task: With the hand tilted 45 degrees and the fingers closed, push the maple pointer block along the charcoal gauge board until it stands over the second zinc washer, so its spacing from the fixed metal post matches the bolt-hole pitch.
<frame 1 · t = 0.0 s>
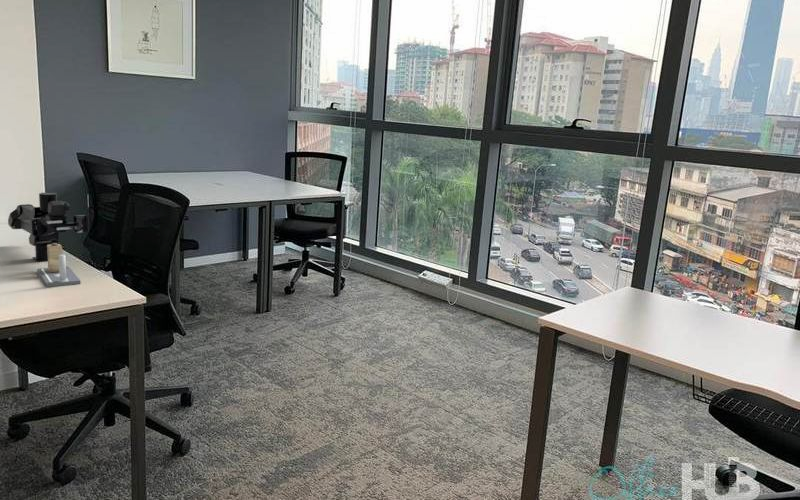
hand: (68, 229, 214), 16 cm above the table, tool horizontal, fingers open, 9 cm apart
gauge board: (58, 277, 212), on the table
pointer block: (55, 256, 215), point 6 cm above the table, slide at 0.0 cm
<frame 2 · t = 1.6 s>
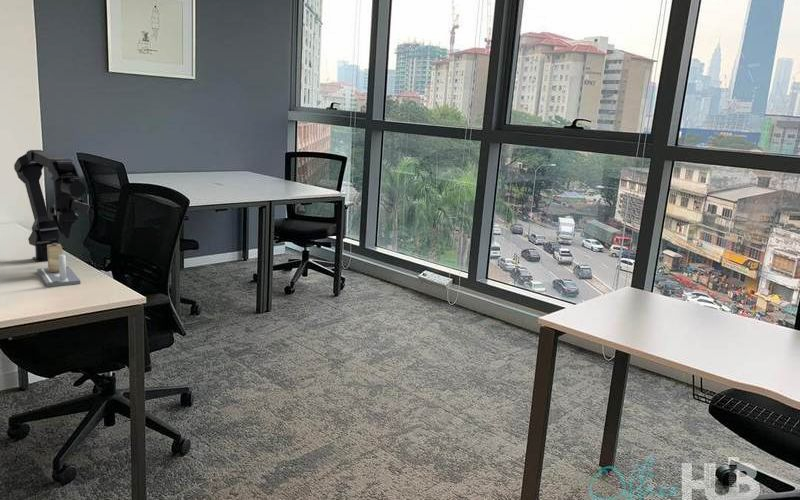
hand: (65, 235, 223), 12 cm above the table, tool pointing down, fingers open, 8 cm apart
nothing on the table moved.
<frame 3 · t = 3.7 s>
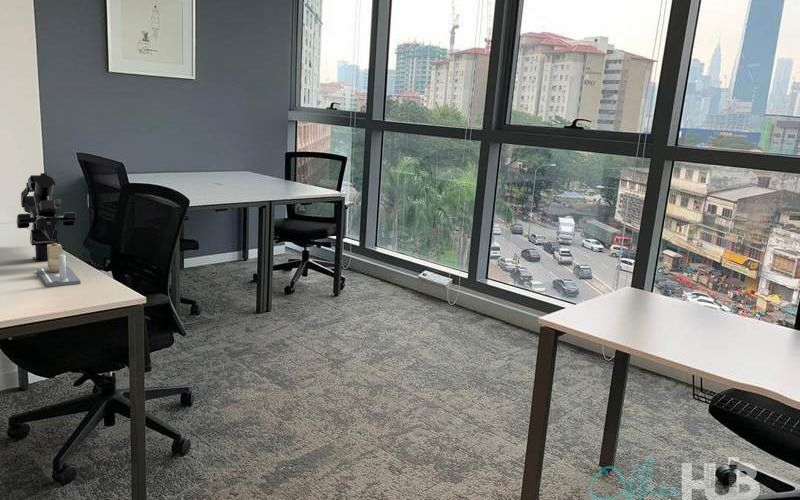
hand: (51, 239, 219), 11 cm above the table, tool tilted 45°, fingers closed
nothing on the table moved.
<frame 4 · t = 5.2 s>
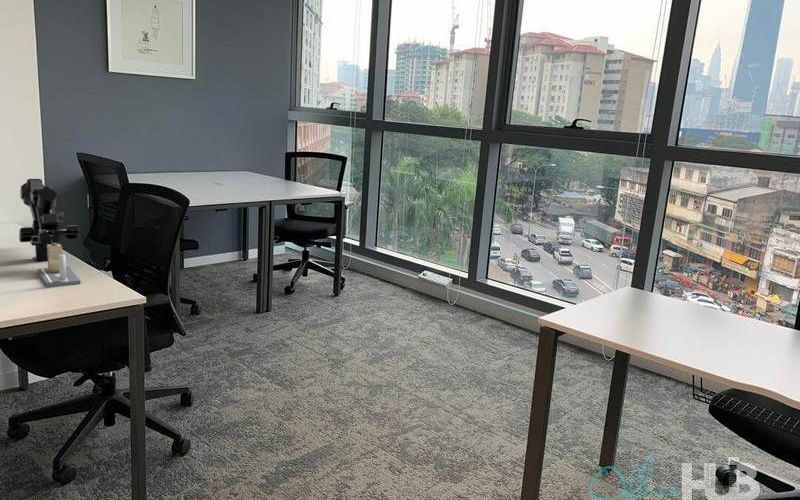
hand: (53, 253, 216), 7 cm above the table, tool tilted 45°, fingers closed, pressing on pointer block
pointer block: (55, 256, 215), point 6 cm above the table, slide at 0.0 cm, touching gripper
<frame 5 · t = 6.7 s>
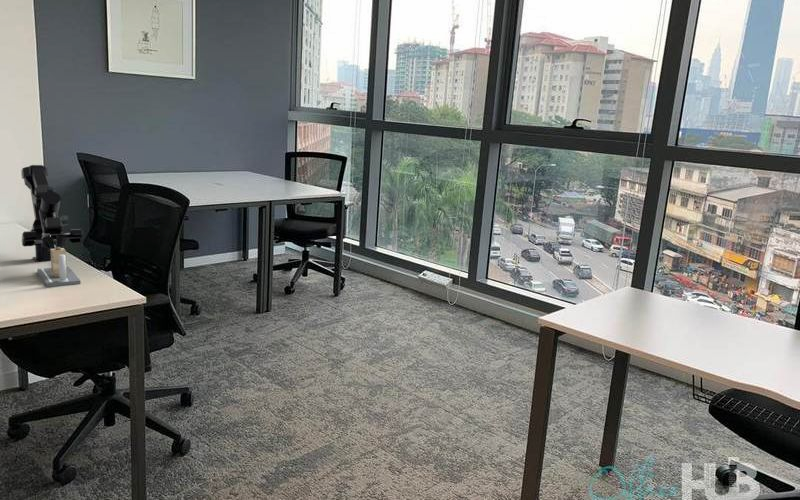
hand: (57, 257, 211), 7 cm above the table, tool tilted 45°, fingers closed
pointer block: (58, 261, 210), point 6 cm above the table, slide at 6.6 cm
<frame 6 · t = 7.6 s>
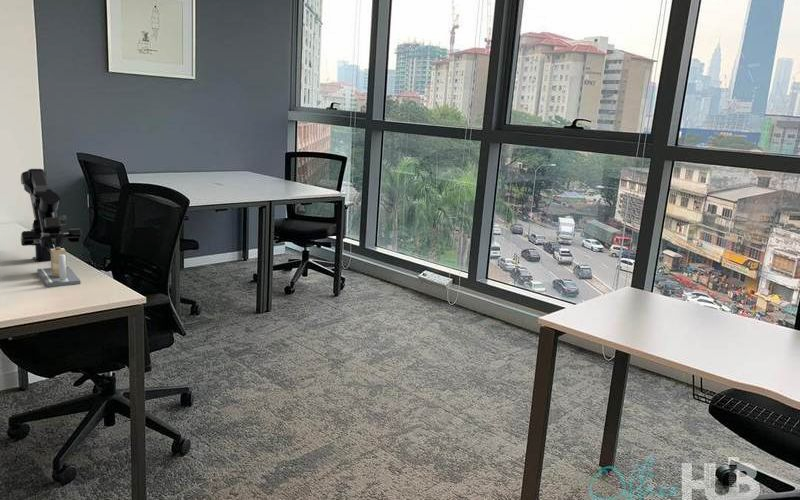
hand: (55, 257, 213), 7 cm above the table, tool tilted 45°, fingers closed
nothing on the table moved.
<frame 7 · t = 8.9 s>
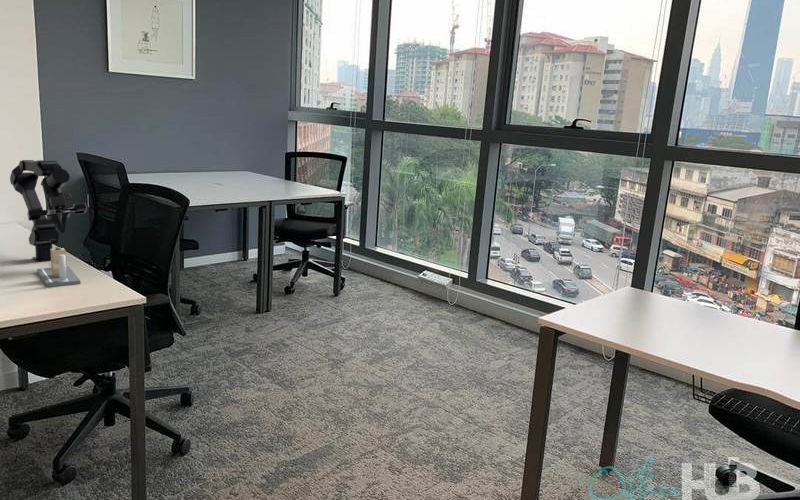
hand: (63, 233, 219), 14 cm above the table, tool tilted 30°, fingers closed
nothing on the table moved.
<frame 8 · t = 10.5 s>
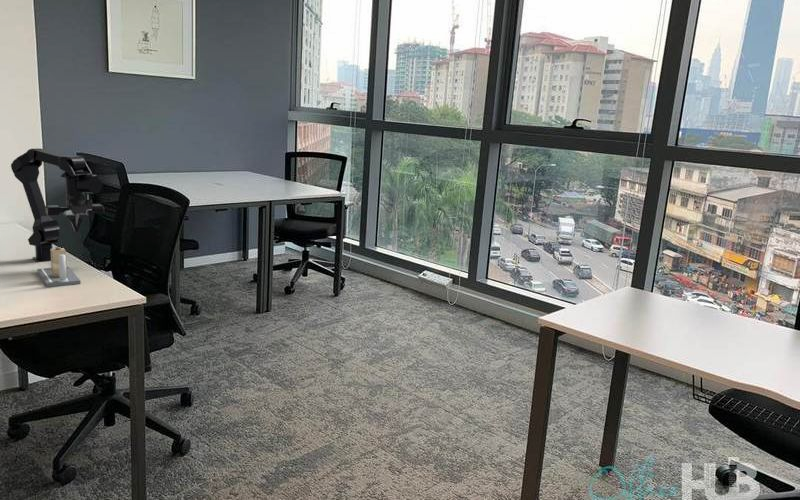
hand: (76, 232, 225), 13 cm above the table, tool pointing down, fingers closed
nothing on the table moved.
at the end: pointer block slide at 6.6 cm; pointer block moved 6.6 cm from its start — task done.
